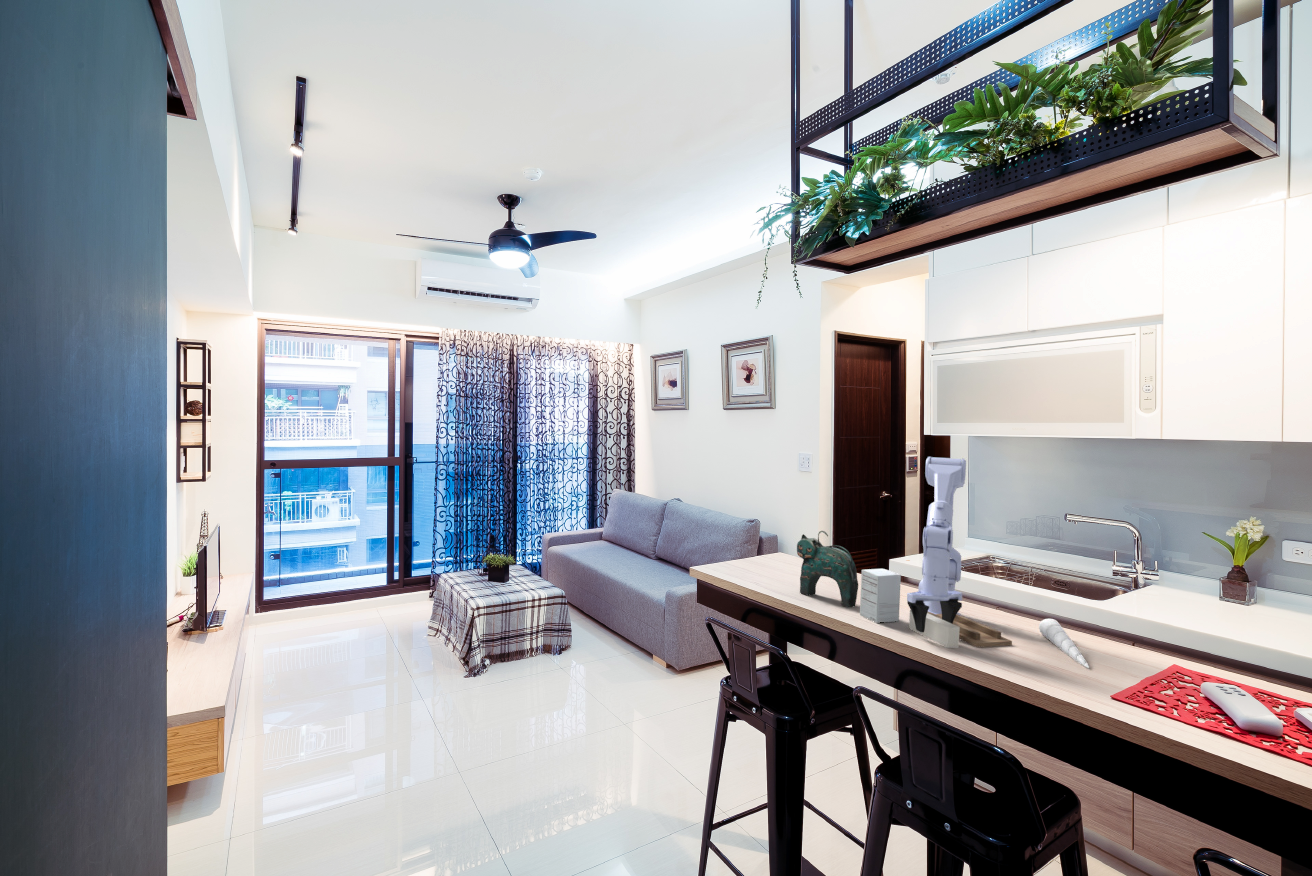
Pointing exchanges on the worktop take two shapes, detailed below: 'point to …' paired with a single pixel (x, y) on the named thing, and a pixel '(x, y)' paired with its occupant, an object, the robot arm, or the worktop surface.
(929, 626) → the white rectangular block
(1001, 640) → the railed tan base plate
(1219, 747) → the worktop surface
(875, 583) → the supplement box
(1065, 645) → the unicorn horn
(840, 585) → the ceramic cat
